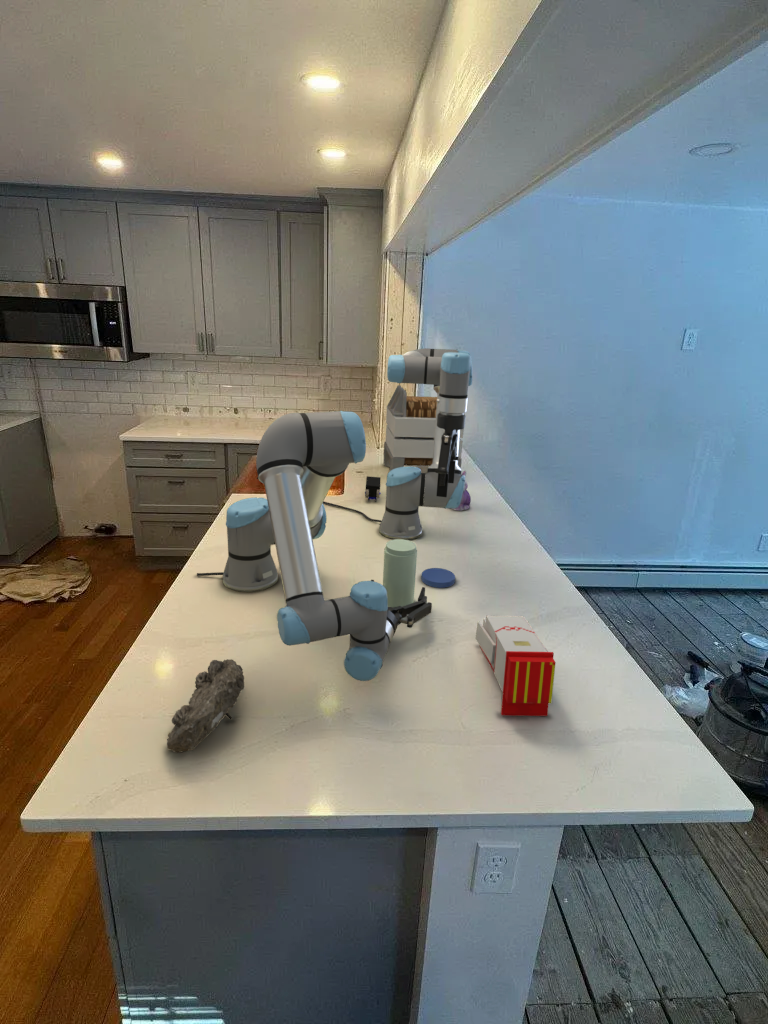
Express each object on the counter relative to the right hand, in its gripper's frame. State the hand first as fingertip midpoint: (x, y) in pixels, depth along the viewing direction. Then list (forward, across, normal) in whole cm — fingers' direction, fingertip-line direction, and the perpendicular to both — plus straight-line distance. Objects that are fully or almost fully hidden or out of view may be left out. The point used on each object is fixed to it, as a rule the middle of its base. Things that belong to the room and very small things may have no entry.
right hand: (445, 489), depth 158 cm
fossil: (+28, +72, -32) cm, 84 cm away
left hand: (+22, +21, -8) cm, 31 cm away
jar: (+28, +18, -8) cm, 34 cm away
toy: (+28, +41, +22) cm, 55 cm away
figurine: (+28, -67, -2) cm, 73 cm away
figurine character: (+28, -66, -38) cm, 81 cm away
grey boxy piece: (+28, -111, -27) cm, 118 cm away
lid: (+27, 0, 0) cm, 27 cm away
